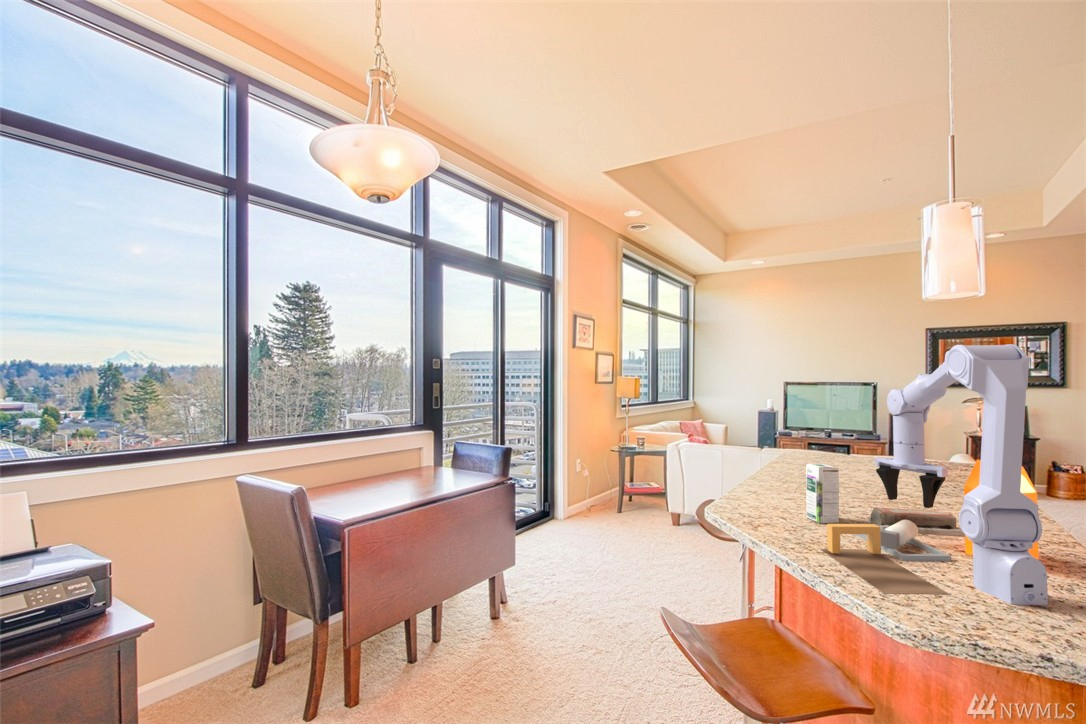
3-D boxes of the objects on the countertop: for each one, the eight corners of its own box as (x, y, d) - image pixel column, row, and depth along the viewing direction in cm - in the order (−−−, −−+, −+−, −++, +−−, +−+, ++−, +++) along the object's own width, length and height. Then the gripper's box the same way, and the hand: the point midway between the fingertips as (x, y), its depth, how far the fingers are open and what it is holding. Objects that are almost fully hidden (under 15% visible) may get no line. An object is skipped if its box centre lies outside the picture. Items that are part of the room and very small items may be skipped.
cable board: (950, 600, 87) (950, 594, 87) (884, 599, 87) (884, 593, 87) (872, 554, 109) (872, 549, 109) (820, 553, 109) (819, 548, 109)
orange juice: (1012, 568, 100) (1009, 467, 101) (964, 553, 109) (962, 460, 109) (1039, 564, 102) (1037, 465, 103) (991, 550, 111) (988, 458, 111)
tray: (951, 565, 102) (951, 555, 102) (902, 565, 102) (902, 555, 102) (897, 538, 119) (897, 530, 119) (855, 538, 119) (855, 529, 119)
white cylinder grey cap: (898, 552, 105) (898, 533, 105) (876, 546, 109) (876, 528, 109) (918, 540, 112) (918, 522, 112) (897, 535, 115) (897, 517, 115)
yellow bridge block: (881, 553, 105) (880, 527, 105) (832, 553, 105) (832, 526, 105) (875, 550, 107) (874, 524, 107) (827, 549, 107) (827, 523, 107)
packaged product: (881, 513, 125) (866, 503, 134) (881, 533, 124) (867, 521, 134) (968, 518, 120) (946, 507, 129) (968, 538, 120) (947, 526, 129)
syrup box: (805, 517, 136) (804, 463, 137) (826, 516, 137) (825, 463, 137) (819, 523, 131) (818, 467, 131) (840, 523, 131) (839, 466, 131)
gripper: (865, 440, 120) (866, 497, 120) (933, 448, 106) (934, 513, 106) (885, 438, 123) (886, 494, 122) (953, 446, 109) (954, 509, 109)
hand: (909, 503), depth 114 cm, fingers open, 7 cm apart
